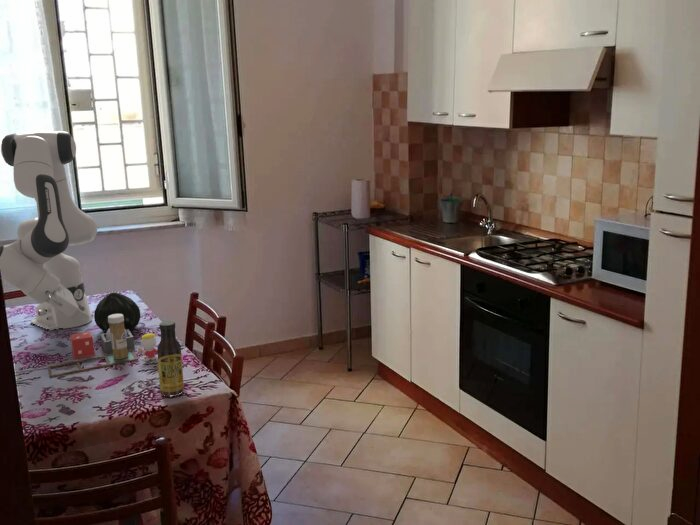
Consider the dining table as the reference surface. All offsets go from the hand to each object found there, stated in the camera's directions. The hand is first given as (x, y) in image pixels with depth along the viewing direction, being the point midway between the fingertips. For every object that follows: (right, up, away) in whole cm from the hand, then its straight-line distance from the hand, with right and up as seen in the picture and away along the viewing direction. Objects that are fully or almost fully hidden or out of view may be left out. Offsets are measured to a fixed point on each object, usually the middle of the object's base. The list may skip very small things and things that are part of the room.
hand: (85, 314), depth 209 cm
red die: (-5, -13, +13) cm, 19 cm away
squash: (-1, -8, +33) cm, 34 cm away
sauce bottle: (+31, -20, -20) cm, 42 cm away
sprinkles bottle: (+8, -14, +7) cm, 18 cm away
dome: (+4, -11, +17) cm, 21 cm away
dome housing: (+4, -12, +17) cm, 21 cm away
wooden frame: (+1, -15, +4) cm, 16 cm away
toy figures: (+20, -14, +6) cm, 25 cm away
